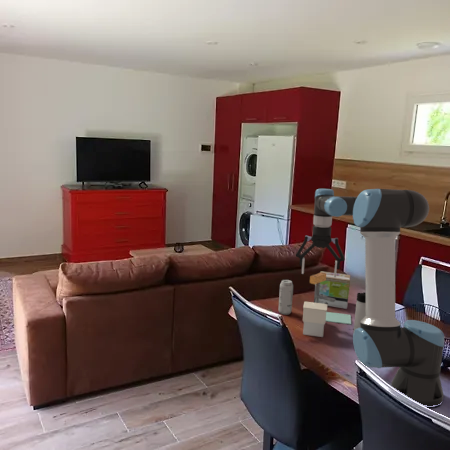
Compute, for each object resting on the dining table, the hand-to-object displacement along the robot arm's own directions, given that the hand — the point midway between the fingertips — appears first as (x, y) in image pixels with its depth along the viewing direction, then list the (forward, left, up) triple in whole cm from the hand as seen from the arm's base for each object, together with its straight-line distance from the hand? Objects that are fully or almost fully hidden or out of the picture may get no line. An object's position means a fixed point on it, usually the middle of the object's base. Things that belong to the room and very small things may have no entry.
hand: (318, 274), depth 191 cm
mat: (+10, -10, -22) cm, 26 cm away
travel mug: (-11, -19, -22) cm, 31 cm away
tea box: (+29, -7, -22) cm, 37 cm away
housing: (-5, 0, -22) cm, 23 cm away
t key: (-1, -3, -16) cm, 16 cm away
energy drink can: (+9, +14, -22) cm, 28 cm away
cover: (-11, 0, -16) cm, 19 cm away
